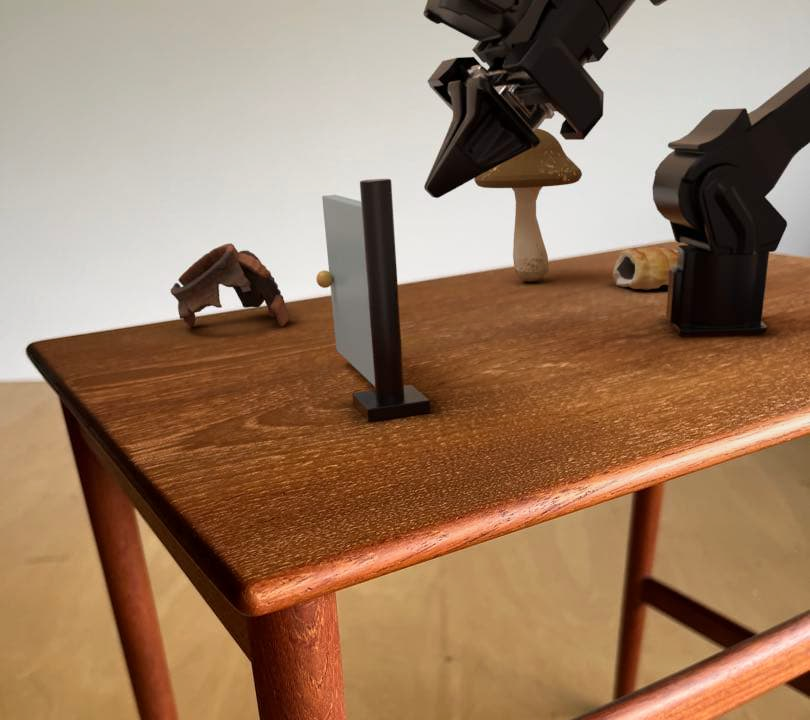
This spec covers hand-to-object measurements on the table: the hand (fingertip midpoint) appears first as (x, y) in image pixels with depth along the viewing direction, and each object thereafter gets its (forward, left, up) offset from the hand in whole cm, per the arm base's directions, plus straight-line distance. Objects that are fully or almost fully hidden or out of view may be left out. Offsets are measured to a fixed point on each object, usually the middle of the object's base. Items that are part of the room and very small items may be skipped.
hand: (429, 193), depth 62 cm
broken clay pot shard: (+20, -15, -12) cm, 28 cm away
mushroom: (-7, -32, -12) cm, 35 cm away
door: (+5, +7, -11) cm, 14 cm away
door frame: (+2, +13, -12) cm, 18 cm away
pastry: (-20, -27, -12) cm, 36 cm away
